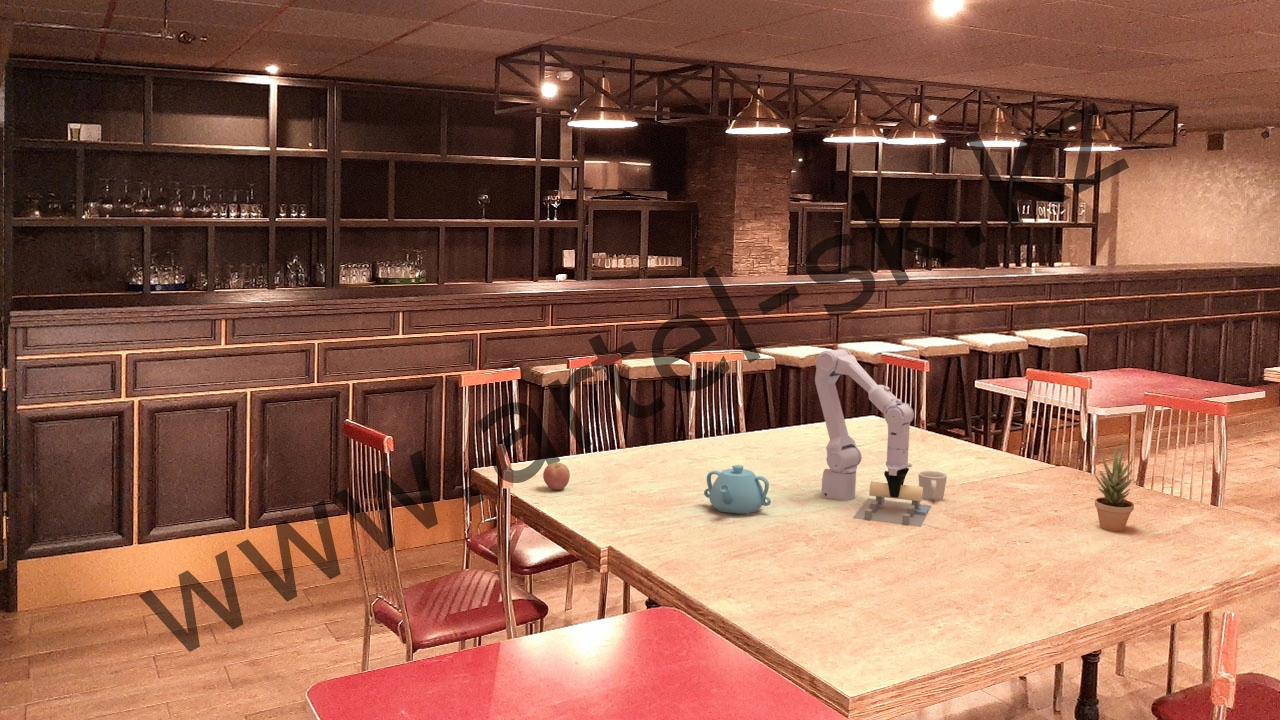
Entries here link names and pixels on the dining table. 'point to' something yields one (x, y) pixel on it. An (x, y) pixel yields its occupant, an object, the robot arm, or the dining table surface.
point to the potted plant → (1114, 496)
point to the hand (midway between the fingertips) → (895, 495)
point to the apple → (556, 476)
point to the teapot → (737, 491)
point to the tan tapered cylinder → (905, 493)
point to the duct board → (893, 511)
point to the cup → (932, 484)
